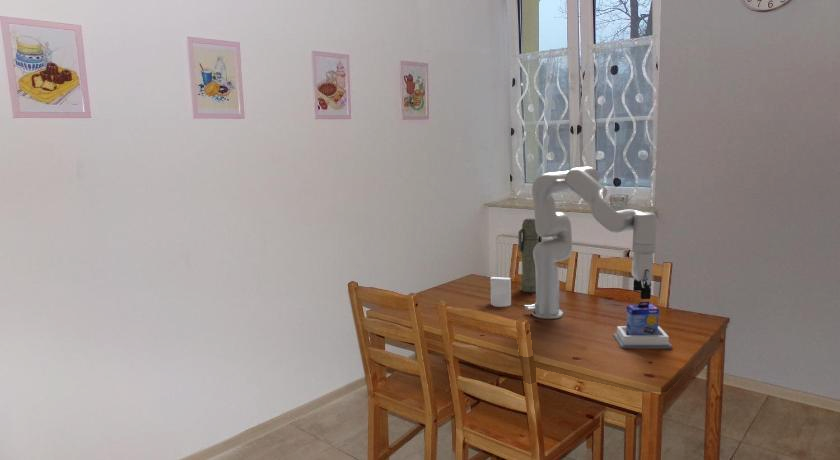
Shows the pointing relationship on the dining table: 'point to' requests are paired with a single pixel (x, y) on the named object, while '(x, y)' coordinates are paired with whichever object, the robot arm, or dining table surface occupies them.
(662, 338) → the socket stand
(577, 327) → the dining table surface
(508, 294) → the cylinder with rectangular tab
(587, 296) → the dining table surface
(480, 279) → the dining table surface
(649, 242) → the robot arm
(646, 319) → the ink cartridge box
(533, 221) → the thermos
